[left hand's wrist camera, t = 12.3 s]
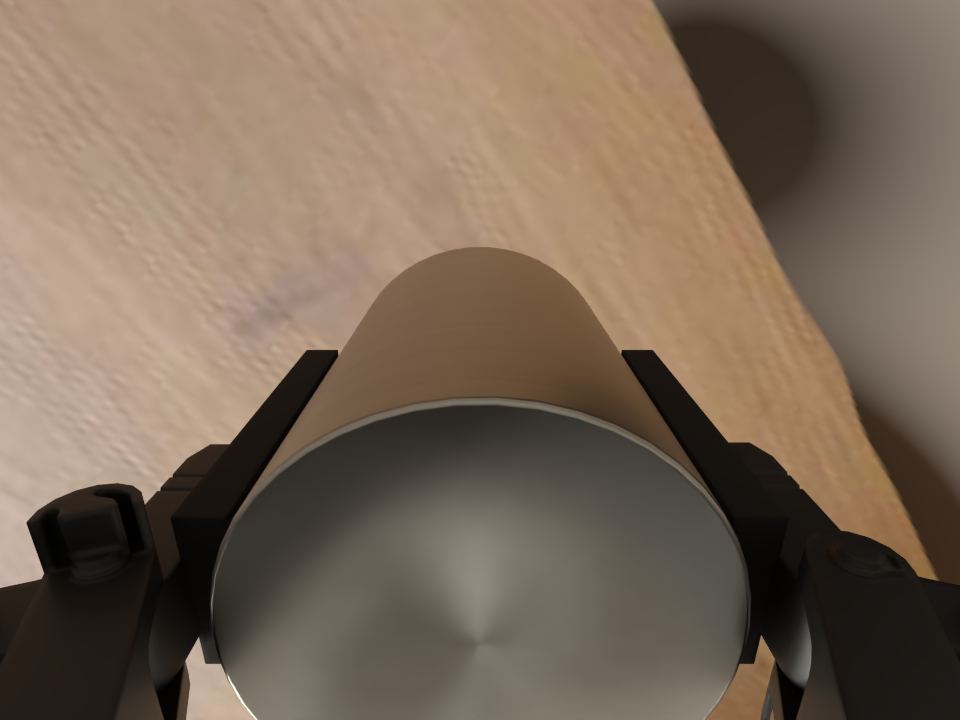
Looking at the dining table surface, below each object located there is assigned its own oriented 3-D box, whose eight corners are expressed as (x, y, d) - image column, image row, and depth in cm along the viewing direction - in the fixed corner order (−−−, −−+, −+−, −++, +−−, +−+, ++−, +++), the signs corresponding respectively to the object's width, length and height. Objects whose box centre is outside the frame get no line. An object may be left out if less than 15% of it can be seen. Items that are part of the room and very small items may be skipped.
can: (358, 471, 17) (238, 806, 8) (351, 239, 14) (168, 383, 6) (588, 482, 17) (695, 821, 9) (621, 253, 15) (820, 414, 6)
